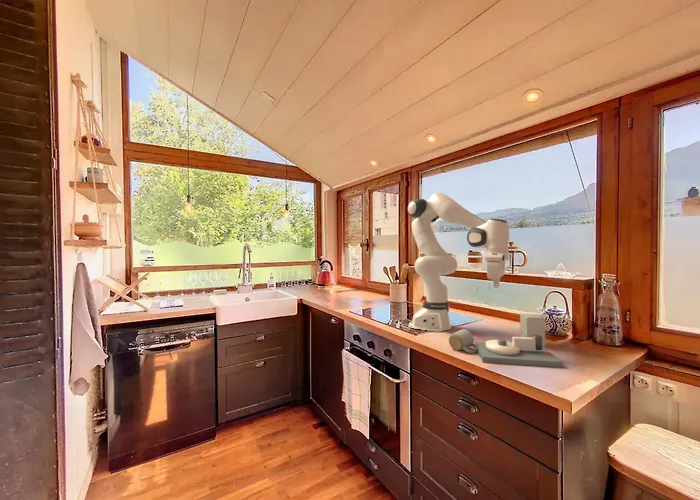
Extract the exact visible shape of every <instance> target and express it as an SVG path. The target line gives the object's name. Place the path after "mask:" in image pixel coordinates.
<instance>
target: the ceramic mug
mask: <svg viewBox="0 0 700 500" xmlns="http://www.w3.org/2000/svg"><path fill="white" fill-rule="evenodd" d="M474 342H475V338H474V336H473V334H472V333H471V332H470V331H469V330H468V329H465V328H464V329H460V330H458V331H456V332H453V333H452V334H451V335H450V336H449V338H448V344H449V345H450V347H451V348H452V349H453V350H455V351H465V352H467V353H469V354H476V353H477V347H476V345H475V344H474ZM471 347H472V348H473V349H474V350H473V349H470V348H471Z"/></svg>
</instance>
